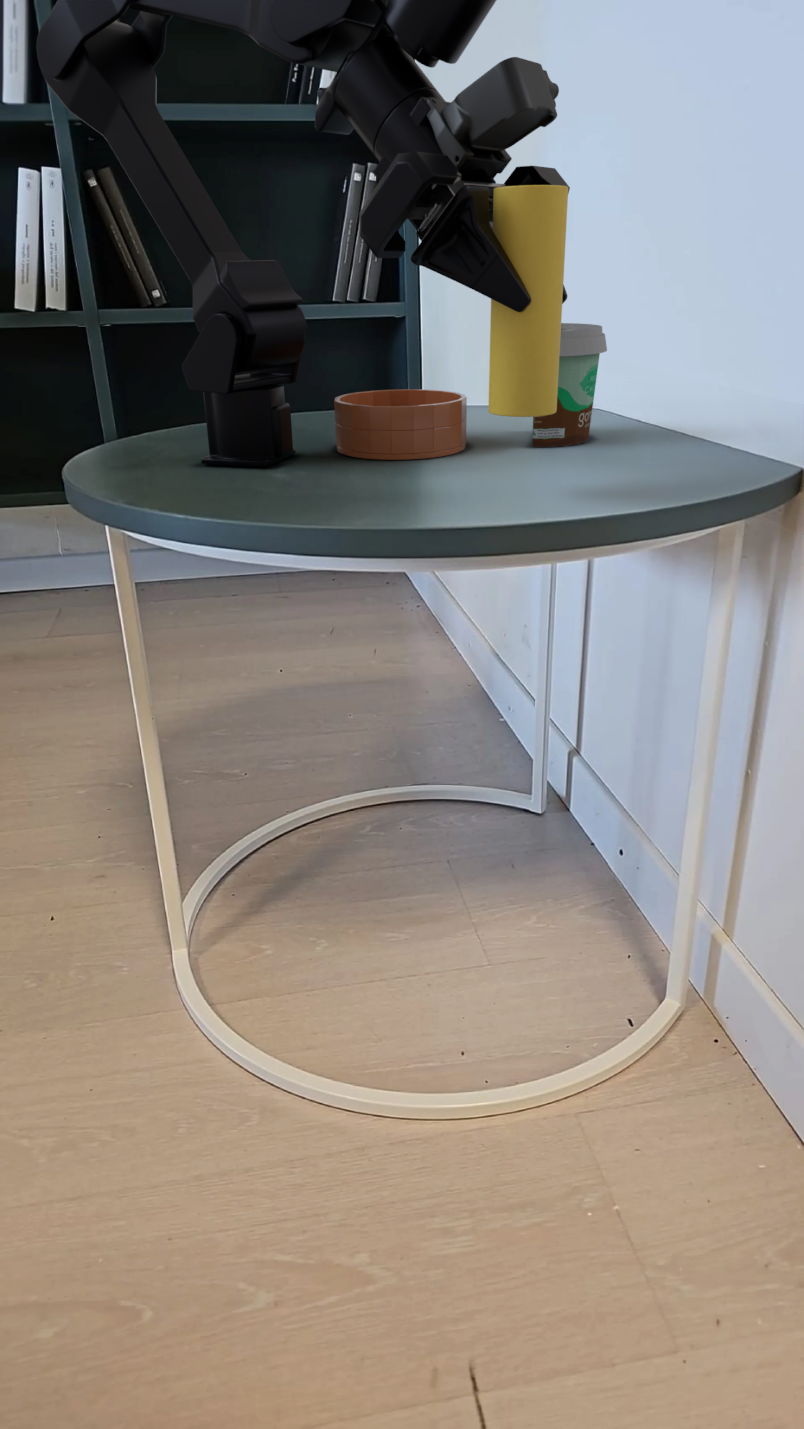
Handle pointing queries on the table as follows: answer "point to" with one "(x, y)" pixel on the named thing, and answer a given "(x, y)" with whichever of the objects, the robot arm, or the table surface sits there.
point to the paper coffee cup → (572, 387)
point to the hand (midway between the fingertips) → (544, 305)
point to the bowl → (400, 424)
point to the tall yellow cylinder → (531, 337)
